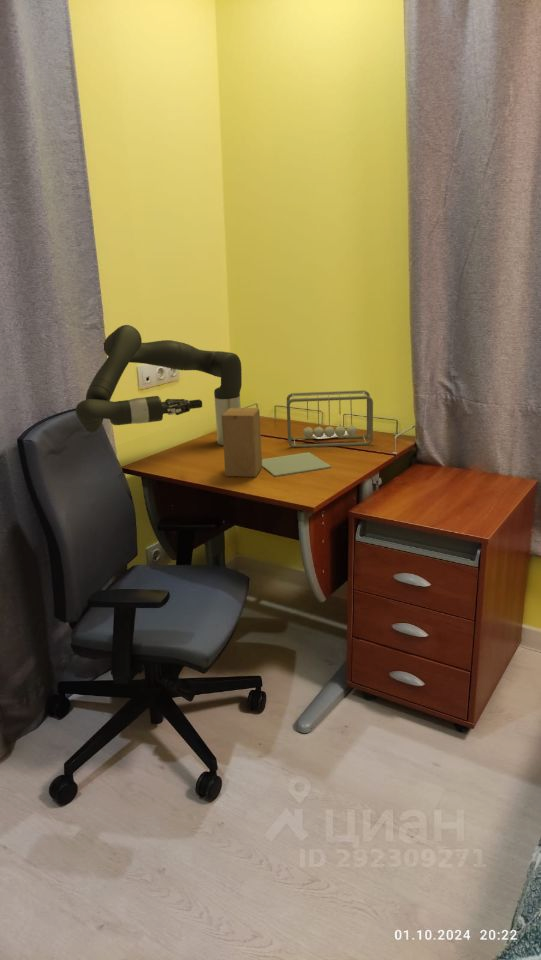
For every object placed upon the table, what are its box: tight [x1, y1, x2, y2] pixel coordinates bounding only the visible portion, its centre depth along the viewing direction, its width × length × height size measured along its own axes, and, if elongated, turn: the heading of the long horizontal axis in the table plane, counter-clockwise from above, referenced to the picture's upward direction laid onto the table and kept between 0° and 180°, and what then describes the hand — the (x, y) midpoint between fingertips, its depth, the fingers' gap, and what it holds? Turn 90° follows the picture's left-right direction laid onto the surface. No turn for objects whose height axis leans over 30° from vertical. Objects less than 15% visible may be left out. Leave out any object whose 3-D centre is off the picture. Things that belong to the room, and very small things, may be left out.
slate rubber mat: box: [262, 451, 332, 477], centre depth 233 cm, size 18×20×1 cm
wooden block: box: [222, 407, 263, 478], centre depth 224 cm, size 10×10×20 cm
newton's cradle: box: [286, 389, 374, 449], centre depth 253 cm, size 30×10×18 cm, turn 89°
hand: (201, 403), depth 216 cm, fingers closed
